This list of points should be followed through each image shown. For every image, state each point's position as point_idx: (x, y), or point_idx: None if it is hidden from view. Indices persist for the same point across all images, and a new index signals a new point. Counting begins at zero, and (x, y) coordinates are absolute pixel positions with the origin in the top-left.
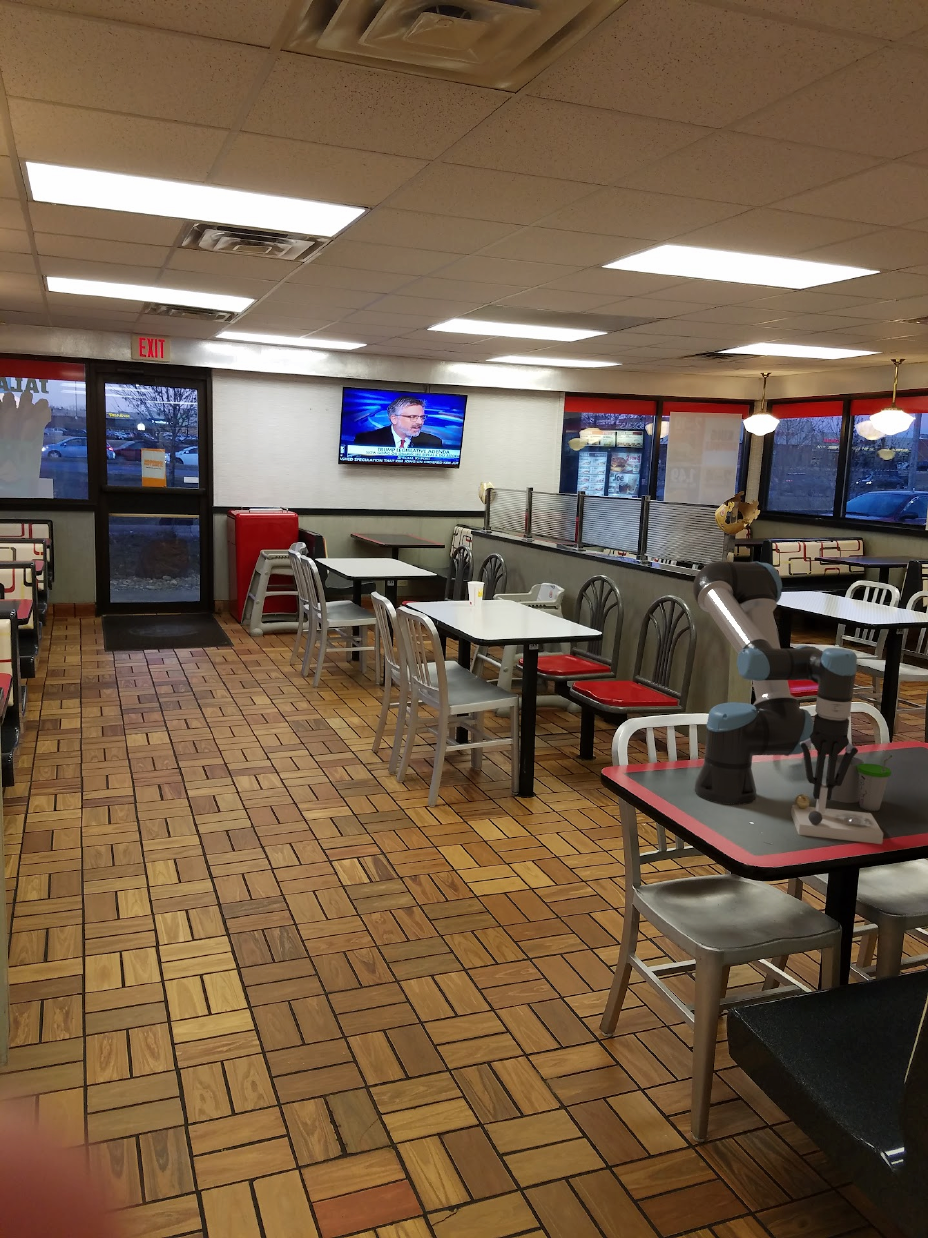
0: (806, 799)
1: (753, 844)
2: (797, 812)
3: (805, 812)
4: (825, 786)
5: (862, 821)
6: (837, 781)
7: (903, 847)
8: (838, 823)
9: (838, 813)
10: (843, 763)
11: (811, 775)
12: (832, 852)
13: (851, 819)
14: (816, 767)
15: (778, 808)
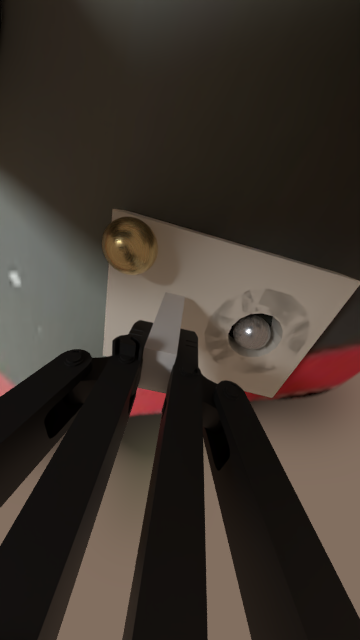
0: (134, 272)
1: (27, 373)
2: (114, 283)
3: (139, 283)
4: (163, 378)
5: (281, 332)
6: (205, 434)
7: (298, 390)
8: (200, 351)
9: (242, 287)
10: (259, 632)
11: (56, 428)
12: (152, 399)
13: (244, 343)
14: (61, 455)
15: (95, 140)
